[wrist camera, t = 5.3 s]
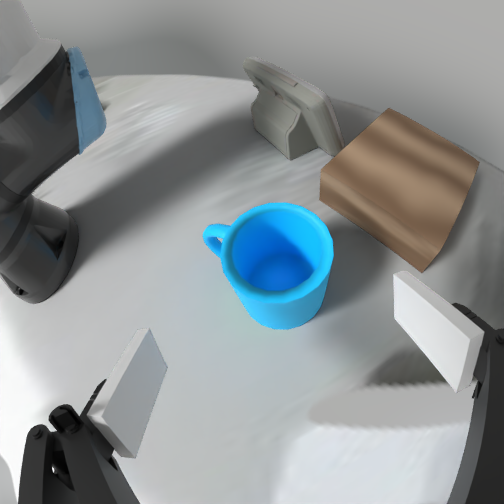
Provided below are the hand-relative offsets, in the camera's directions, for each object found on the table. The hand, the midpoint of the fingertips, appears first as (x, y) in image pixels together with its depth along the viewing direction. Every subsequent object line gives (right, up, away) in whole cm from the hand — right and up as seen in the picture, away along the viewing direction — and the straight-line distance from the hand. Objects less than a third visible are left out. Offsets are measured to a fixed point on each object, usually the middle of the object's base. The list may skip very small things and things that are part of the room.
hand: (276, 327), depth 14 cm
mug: (0, +1, +14) cm, 14 cm away
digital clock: (+5, +20, +24) cm, 32 cm away
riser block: (+17, +11, +16) cm, 26 cm away
